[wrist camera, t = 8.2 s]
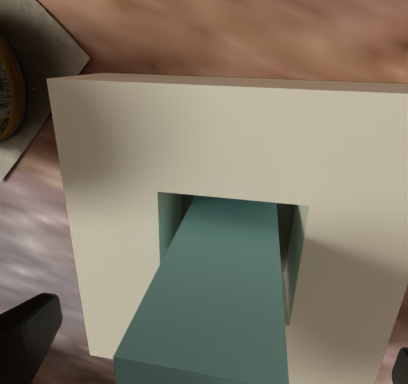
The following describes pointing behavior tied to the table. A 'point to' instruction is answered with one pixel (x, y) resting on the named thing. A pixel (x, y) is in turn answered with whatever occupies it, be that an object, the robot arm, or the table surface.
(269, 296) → the peg
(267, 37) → the table surface
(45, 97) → the condiment
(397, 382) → the robot arm
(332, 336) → the socket block
